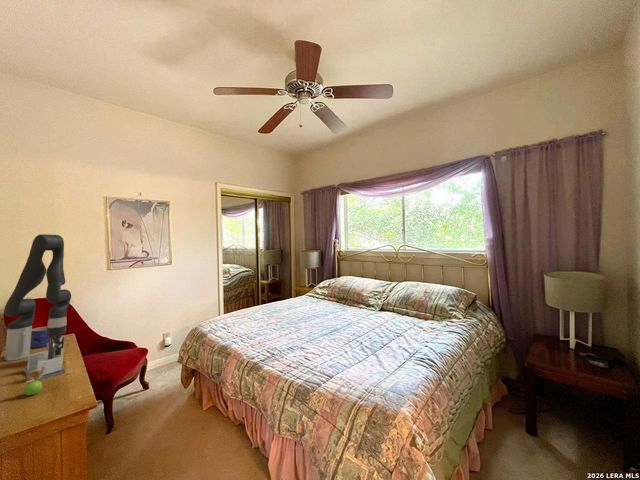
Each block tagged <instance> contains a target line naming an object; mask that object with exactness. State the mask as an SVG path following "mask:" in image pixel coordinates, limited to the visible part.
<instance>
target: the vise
mask: <svg viewBox="0 0 640 480" xmlns="http://www.w3.org/2000/svg"><path fill="white" fill-rule="evenodd" d="M45 358H48V350H47V349H46V350H43V351H39V352H35V353H30V354H29V355H28V357H27V366H26V367H27V368H23V371H22V372H23V373H24V374H25V375H27V373H28V372H30V371H32V370H35V369H37V362H38V360H41V359H45ZM65 373H66V369H65V368H63V367H62V370H59V371H56V372H52V373H49V374H45V375H43V376H42V377H41V378H40V379H39V380H37V381H42V380H44V379H48V378H52V377H55V376H58V375H62V374H65Z"/></svg>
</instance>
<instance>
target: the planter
mask: <svg viewBox="0 0 640 480" xmlns="http://www.w3.org/2000/svg"><path fill="white" fill-rule="evenodd" d="M48 340H49V336H48V335H47V326H41V327H39V326H38V327H36V328H32V333H31V345H30V348H33V349H38V348H39V347H40V348H45V347H47V343H48ZM44 346H45V347H44Z"/></svg>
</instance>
